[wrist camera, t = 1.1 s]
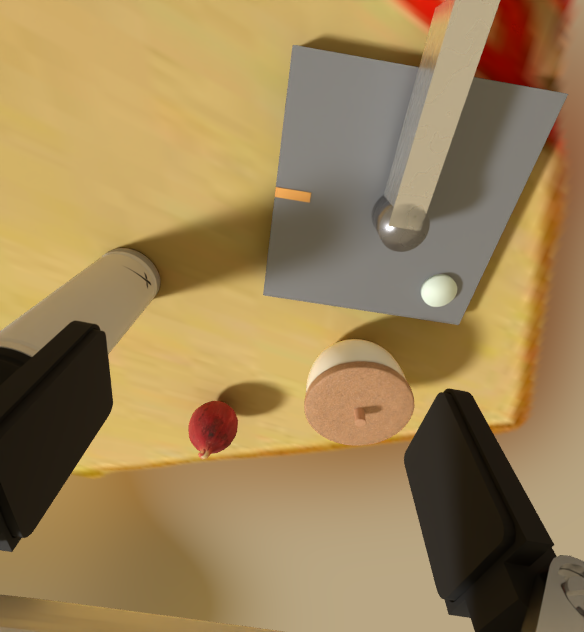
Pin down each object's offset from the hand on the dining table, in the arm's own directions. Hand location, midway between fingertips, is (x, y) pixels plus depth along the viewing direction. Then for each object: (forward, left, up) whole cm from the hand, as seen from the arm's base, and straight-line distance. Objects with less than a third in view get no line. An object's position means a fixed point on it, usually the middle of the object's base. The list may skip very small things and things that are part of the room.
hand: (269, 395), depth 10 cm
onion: (+28, -6, -26) cm, 38 cm away
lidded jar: (+18, +9, -26) cm, 32 cm away
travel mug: (+11, -16, -26) cm, 32 cm away
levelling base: (0, +8, -25) cm, 27 cm away
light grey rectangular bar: (-6, +8, -23) cm, 25 cm away
